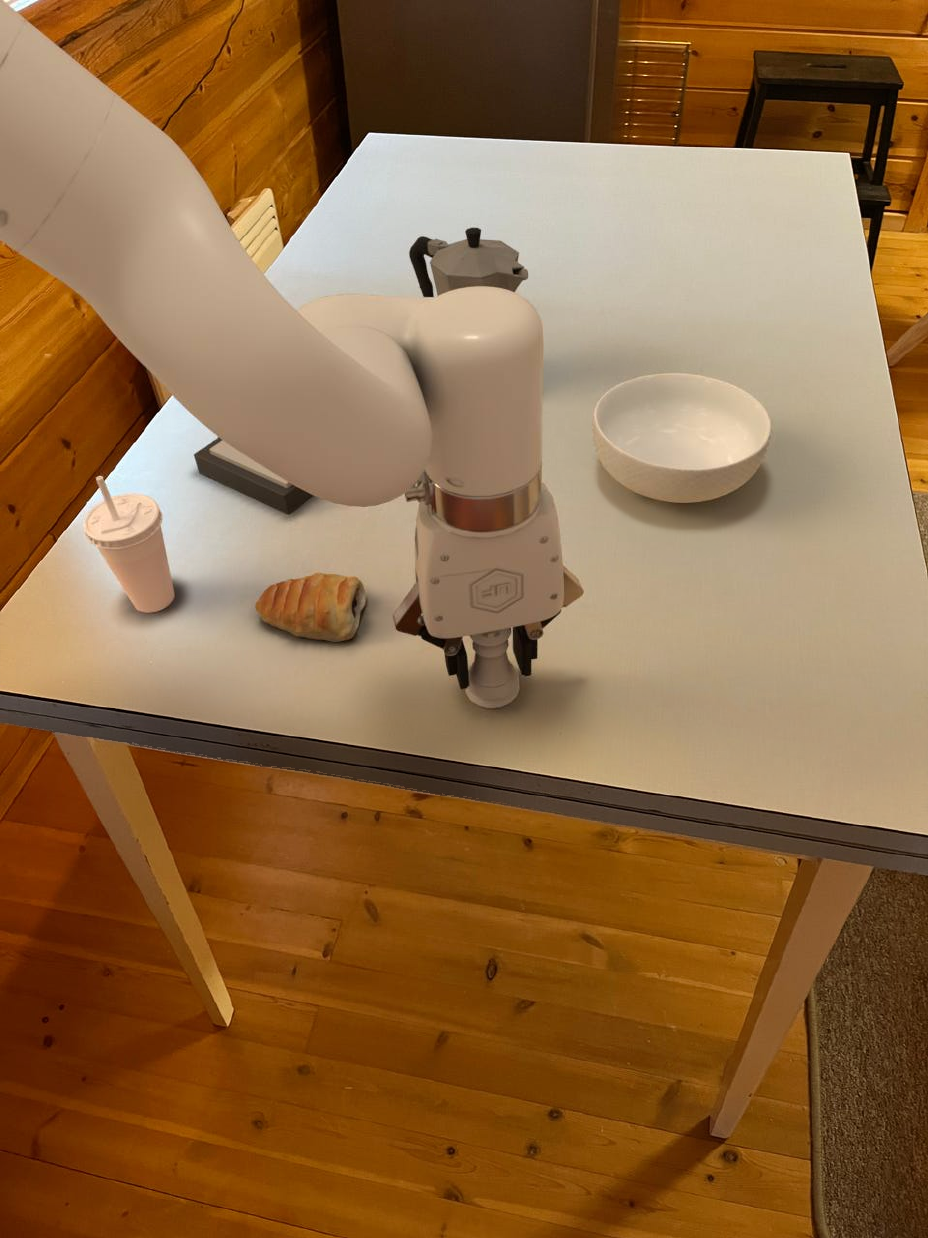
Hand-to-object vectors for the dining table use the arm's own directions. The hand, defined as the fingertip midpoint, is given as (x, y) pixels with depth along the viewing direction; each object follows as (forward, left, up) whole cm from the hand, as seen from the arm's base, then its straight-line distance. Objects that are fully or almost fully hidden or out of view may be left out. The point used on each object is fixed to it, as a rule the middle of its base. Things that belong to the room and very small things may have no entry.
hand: (491, 668), depth 73 cm
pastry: (-18, +1, -3) cm, 18 cm away
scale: (-34, +19, -3) cm, 39 cm away
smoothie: (-33, -3, -3) cm, 33 cm away
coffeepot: (-23, +41, -3) cm, 47 cm away
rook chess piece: (0, 0, -3) cm, 3 cm away
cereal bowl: (+4, +33, -3) cm, 33 cm away
